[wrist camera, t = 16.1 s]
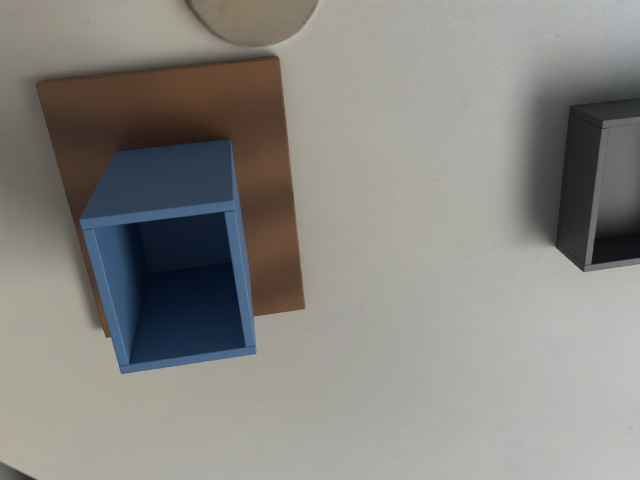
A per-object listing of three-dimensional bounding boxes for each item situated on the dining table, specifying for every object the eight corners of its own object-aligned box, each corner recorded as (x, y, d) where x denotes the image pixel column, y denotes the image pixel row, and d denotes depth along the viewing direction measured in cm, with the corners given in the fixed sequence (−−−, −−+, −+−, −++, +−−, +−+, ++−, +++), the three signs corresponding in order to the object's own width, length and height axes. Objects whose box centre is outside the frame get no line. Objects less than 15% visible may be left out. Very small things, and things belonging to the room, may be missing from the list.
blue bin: (115, 151, 42) (78, 219, 31) (230, 138, 43) (233, 200, 32) (144, 277, 47) (120, 374, 36) (248, 263, 47) (256, 354, 37)
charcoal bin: (569, 105, 47) (602, 120, 43) (693, 91, 48) (736, 104, 44) (555, 247, 52) (583, 272, 48) (666, 232, 53) (703, 255, 49)
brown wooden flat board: (39, 80, 41) (34, 83, 40) (278, 56, 42) (279, 58, 41) (107, 331, 49) (105, 338, 48) (303, 303, 51) (305, 309, 50)
